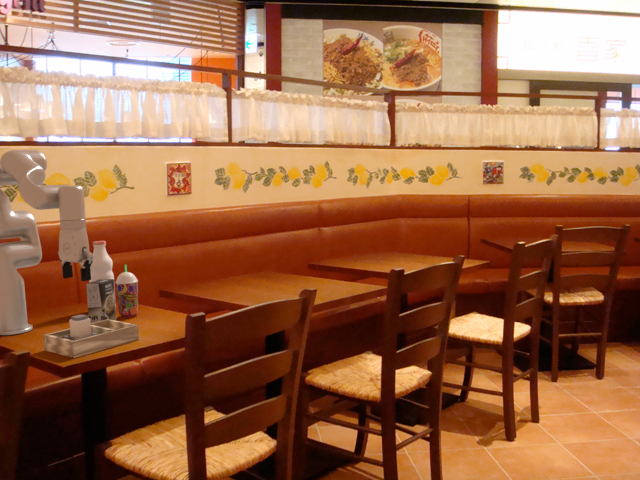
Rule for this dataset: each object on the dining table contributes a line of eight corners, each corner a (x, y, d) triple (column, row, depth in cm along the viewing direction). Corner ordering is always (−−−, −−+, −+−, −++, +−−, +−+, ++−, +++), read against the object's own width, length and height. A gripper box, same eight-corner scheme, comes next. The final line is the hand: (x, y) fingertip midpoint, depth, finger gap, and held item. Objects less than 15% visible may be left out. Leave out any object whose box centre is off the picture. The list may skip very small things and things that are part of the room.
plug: (71, 344, 211) (69, 316, 210) (83, 341, 215) (81, 313, 214) (79, 346, 209) (77, 318, 207) (91, 343, 212) (90, 315, 211)
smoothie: (128, 319, 248) (124, 267, 246) (112, 317, 253) (109, 265, 250) (144, 315, 255) (141, 263, 253) (129, 313, 260) (126, 262, 257)
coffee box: (104, 327, 237) (101, 283, 235) (88, 327, 239) (85, 283, 237) (117, 321, 246) (114, 278, 244) (101, 321, 248) (98, 278, 246)
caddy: (44, 350, 210) (43, 334, 209) (108, 333, 229) (107, 319, 229) (74, 358, 201) (73, 341, 200) (138, 339, 220) (137, 324, 219)
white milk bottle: (96, 308, 270) (92, 240, 266) (119, 308, 269) (115, 239, 266) (87, 313, 260) (82, 243, 257) (111, 313, 260) (106, 242, 257)
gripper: (46, 225, 209) (50, 278, 211) (78, 227, 199) (82, 283, 201) (67, 223, 215) (71, 275, 217) (100, 225, 205) (103, 279, 207)
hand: (76, 279), depth 209 cm, fingers open, 9 cm apart
